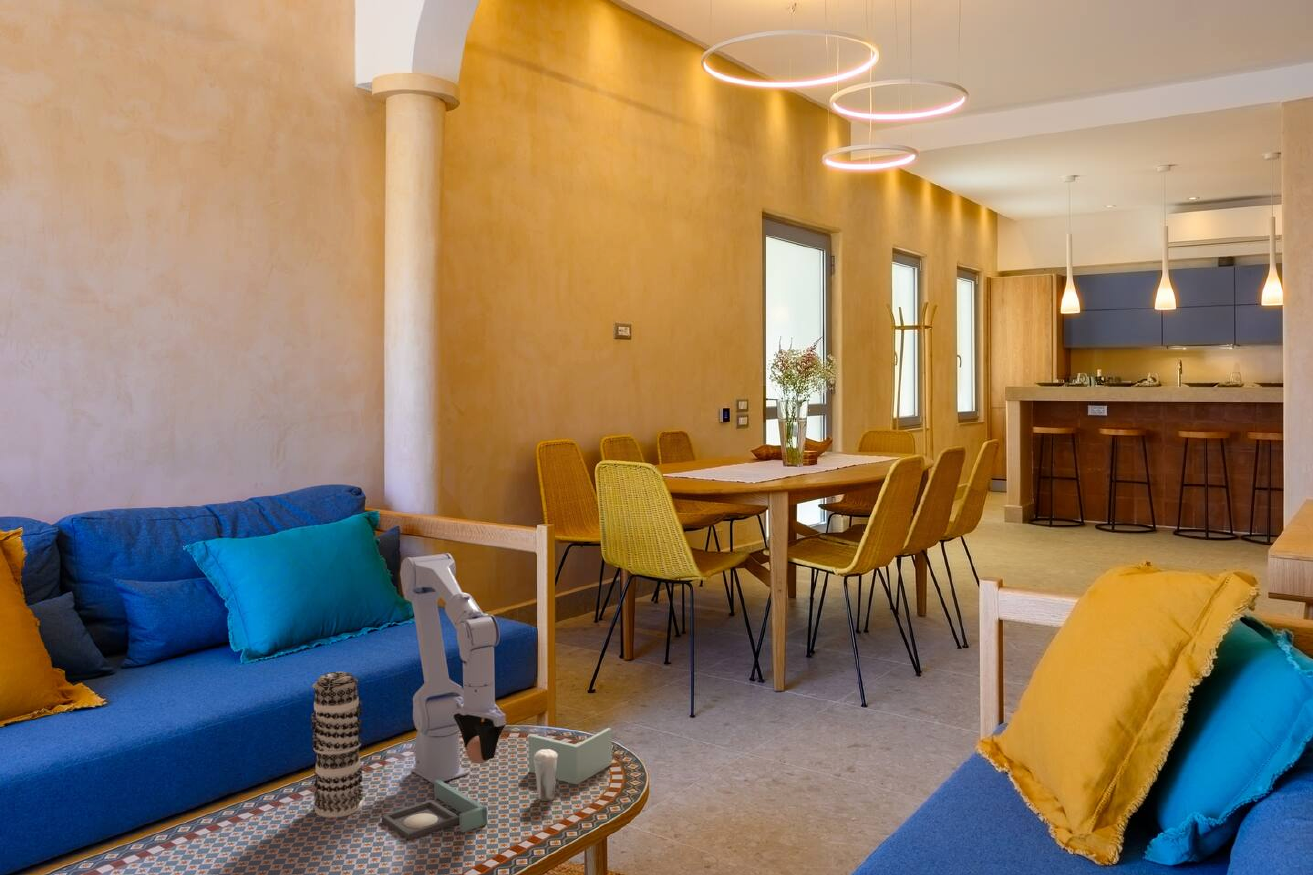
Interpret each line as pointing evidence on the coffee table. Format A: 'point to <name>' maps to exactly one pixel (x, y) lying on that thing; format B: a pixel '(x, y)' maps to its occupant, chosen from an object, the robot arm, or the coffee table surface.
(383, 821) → the tray
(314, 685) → the white patterned cylinder
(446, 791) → the divider wall
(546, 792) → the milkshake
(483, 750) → the robot arm
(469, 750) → the ball
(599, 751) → the right angle wall
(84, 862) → the coffee table surface
